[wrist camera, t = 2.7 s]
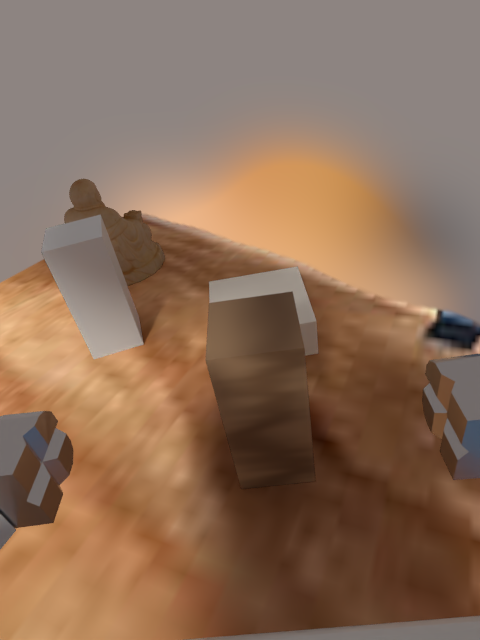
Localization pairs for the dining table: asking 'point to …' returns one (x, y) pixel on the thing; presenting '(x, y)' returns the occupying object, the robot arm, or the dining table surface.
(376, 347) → the dining table surface
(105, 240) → the grey block
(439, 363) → the robot arm
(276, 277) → the cream base
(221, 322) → the walnut block
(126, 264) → the statue
